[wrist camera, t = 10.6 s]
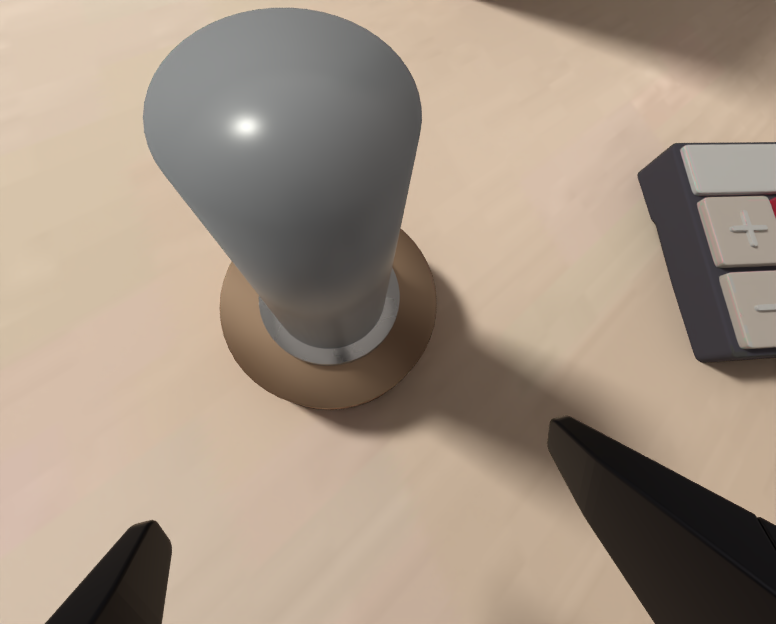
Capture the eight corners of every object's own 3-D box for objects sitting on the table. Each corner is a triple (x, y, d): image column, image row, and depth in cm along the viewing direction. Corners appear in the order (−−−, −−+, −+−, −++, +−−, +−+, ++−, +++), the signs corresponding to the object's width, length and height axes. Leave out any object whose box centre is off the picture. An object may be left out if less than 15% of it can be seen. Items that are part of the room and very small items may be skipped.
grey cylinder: (383, 379, 19) (425, 300, 7) (242, 348, 19) (32, 213, 7) (409, 252, 22) (477, 23, 9) (284, 225, 22) (182, -44, 9)
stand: (347, 453, 21) (345, 458, 18) (195, 326, 22) (171, 312, 20) (462, 299, 24) (476, 282, 21) (323, 197, 26) (319, 169, 23)
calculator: (748, 356, 21) (680, 134, 25) (683, 364, 25) (633, 172, 29) (912, 345, 22) (825, 133, 26) (824, 354, 26) (759, 170, 30)
